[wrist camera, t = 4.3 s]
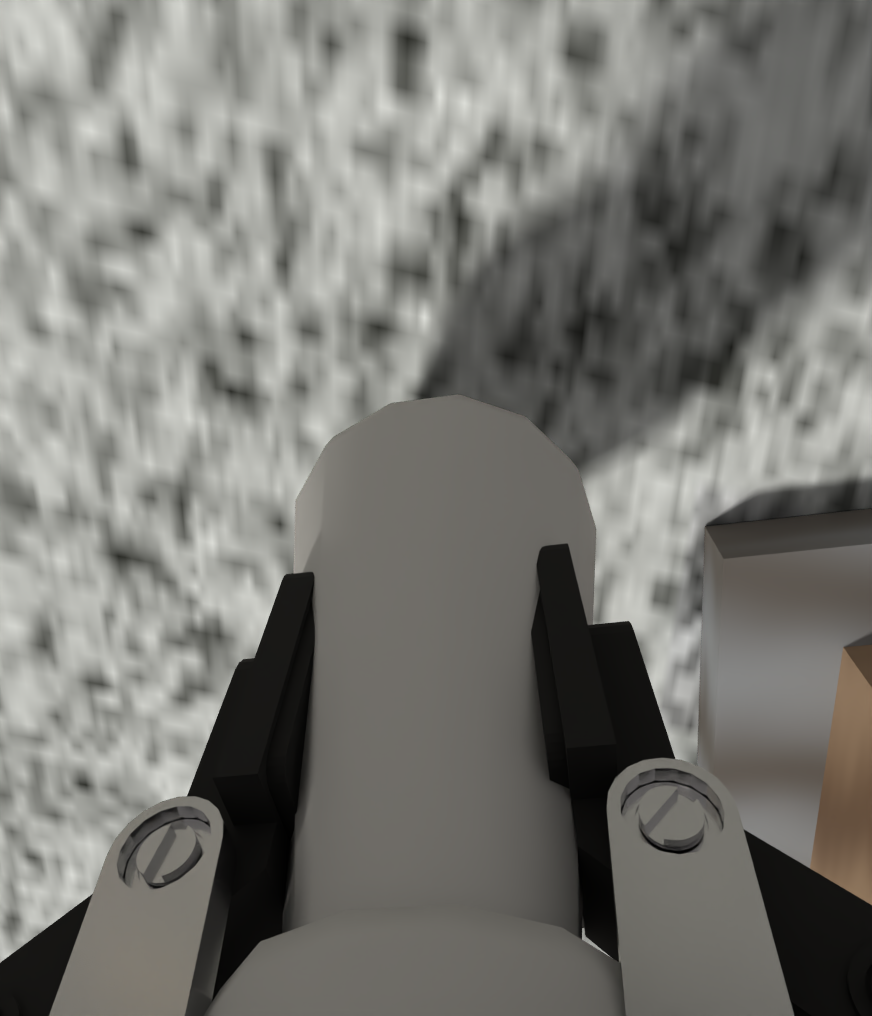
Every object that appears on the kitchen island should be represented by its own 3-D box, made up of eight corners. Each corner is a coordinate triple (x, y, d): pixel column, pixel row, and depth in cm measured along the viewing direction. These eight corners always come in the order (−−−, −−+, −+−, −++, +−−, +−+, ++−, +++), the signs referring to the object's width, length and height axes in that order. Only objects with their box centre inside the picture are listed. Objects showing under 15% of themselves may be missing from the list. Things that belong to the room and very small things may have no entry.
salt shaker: (289, 548, 17) (-33, 1432, 6) (351, 320, 14) (-36, 1166, 3) (520, 614, 18) (626, 1501, 7) (621, 408, 15) (1097, 1340, 4)
